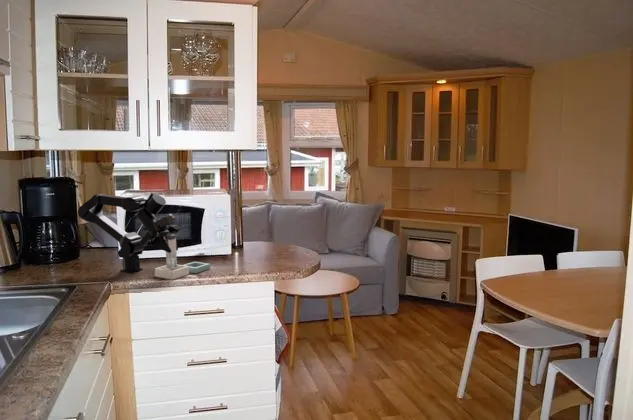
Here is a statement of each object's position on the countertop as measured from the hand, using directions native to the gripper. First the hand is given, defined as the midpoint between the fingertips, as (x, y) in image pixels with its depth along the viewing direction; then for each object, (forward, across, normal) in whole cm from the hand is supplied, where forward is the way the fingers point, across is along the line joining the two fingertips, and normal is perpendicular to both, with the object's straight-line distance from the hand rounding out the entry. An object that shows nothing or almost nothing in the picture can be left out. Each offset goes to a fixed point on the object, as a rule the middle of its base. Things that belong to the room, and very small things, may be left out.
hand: (174, 251), depth 203 cm
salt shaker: (+4, 0, +6) cm, 7 cm away
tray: (+6, 0, +8) cm, 10 cm away
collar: (+9, +11, +5) cm, 15 cm away
